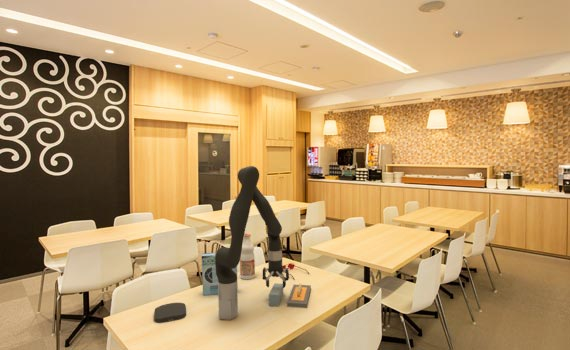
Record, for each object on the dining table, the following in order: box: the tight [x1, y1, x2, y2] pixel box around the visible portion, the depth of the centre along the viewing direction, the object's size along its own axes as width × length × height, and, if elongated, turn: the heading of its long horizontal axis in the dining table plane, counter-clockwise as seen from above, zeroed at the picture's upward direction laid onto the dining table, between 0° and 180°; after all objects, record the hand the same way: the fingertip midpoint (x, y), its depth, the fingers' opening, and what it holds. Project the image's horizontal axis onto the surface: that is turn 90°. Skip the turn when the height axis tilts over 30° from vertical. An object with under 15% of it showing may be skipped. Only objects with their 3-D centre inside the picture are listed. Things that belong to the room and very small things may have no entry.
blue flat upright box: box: [201, 252, 239, 296], centre depth 182 cm, size 20×5×23 cm, turn 98°
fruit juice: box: [239, 233, 256, 281], centre depth 205 cm, size 9×9×28 cm
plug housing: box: [268, 282, 284, 307], centre depth 175 cm, size 21×5×6 cm, turn 170°
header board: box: [286, 283, 312, 309], centre depth 175 cm, size 24×10×6 cm, turn 170°
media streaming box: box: [153, 302, 187, 324], centre depth 157 cm, size 15×15×3 cm
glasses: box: [282, 262, 310, 281], centre depth 211 cm, size 14×16×5 cm
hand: (276, 287), depth 173 cm, fingers open, 8 cm apart
